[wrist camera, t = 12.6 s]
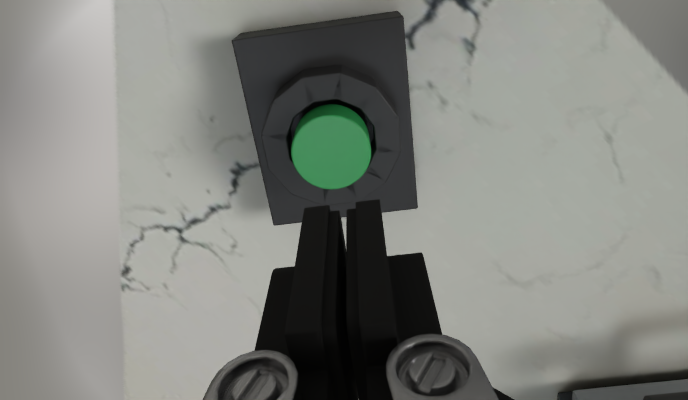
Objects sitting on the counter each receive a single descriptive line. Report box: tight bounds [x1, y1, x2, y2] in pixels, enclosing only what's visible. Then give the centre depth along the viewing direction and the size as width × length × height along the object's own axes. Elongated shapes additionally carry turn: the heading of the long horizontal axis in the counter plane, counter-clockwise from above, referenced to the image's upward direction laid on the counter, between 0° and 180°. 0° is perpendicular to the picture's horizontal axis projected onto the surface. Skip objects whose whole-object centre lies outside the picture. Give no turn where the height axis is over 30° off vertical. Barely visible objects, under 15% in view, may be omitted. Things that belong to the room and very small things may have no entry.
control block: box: [232, 11, 418, 225], centre depth 25 cm, size 10×8×4 cm
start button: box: [291, 104, 371, 189], centre depth 23 cm, size 4×4×2 cm
